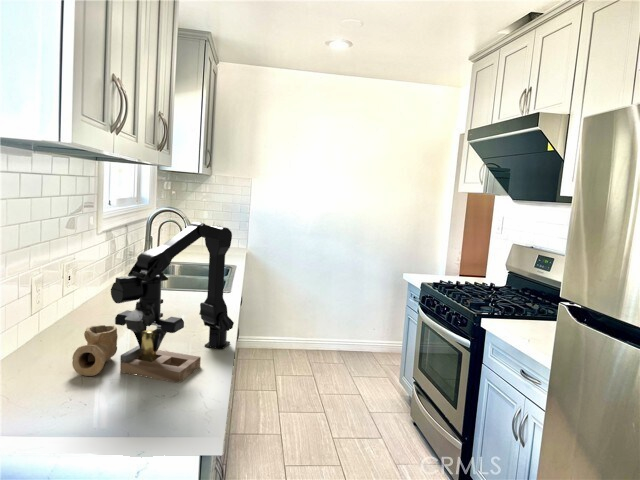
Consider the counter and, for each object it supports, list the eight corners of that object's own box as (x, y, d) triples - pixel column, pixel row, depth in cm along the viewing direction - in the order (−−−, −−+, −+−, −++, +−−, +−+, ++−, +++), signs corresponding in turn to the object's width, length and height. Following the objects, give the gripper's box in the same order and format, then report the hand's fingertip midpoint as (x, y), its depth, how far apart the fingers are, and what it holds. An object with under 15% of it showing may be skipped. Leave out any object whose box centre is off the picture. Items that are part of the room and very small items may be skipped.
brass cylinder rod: (146, 355, 137) (147, 329, 136) (158, 357, 136) (159, 331, 135) (138, 360, 133) (138, 333, 132) (150, 362, 132) (151, 335, 131)
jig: (145, 357, 142) (145, 341, 141) (200, 366, 138) (200, 350, 137) (120, 372, 130) (120, 355, 130) (179, 383, 126) (179, 365, 126)
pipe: (68, 377, 125) (68, 341, 124) (90, 354, 141) (90, 322, 140) (104, 378, 126) (104, 342, 125) (121, 355, 142) (122, 323, 141)
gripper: (102, 299, 127) (101, 355, 129) (164, 308, 123) (162, 365, 125) (127, 290, 138) (126, 342, 140) (185, 298, 133) (184, 351, 135)
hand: (148, 350), depth 135 cm, fingers closed on brass cylinder rod, 4 cm apart
